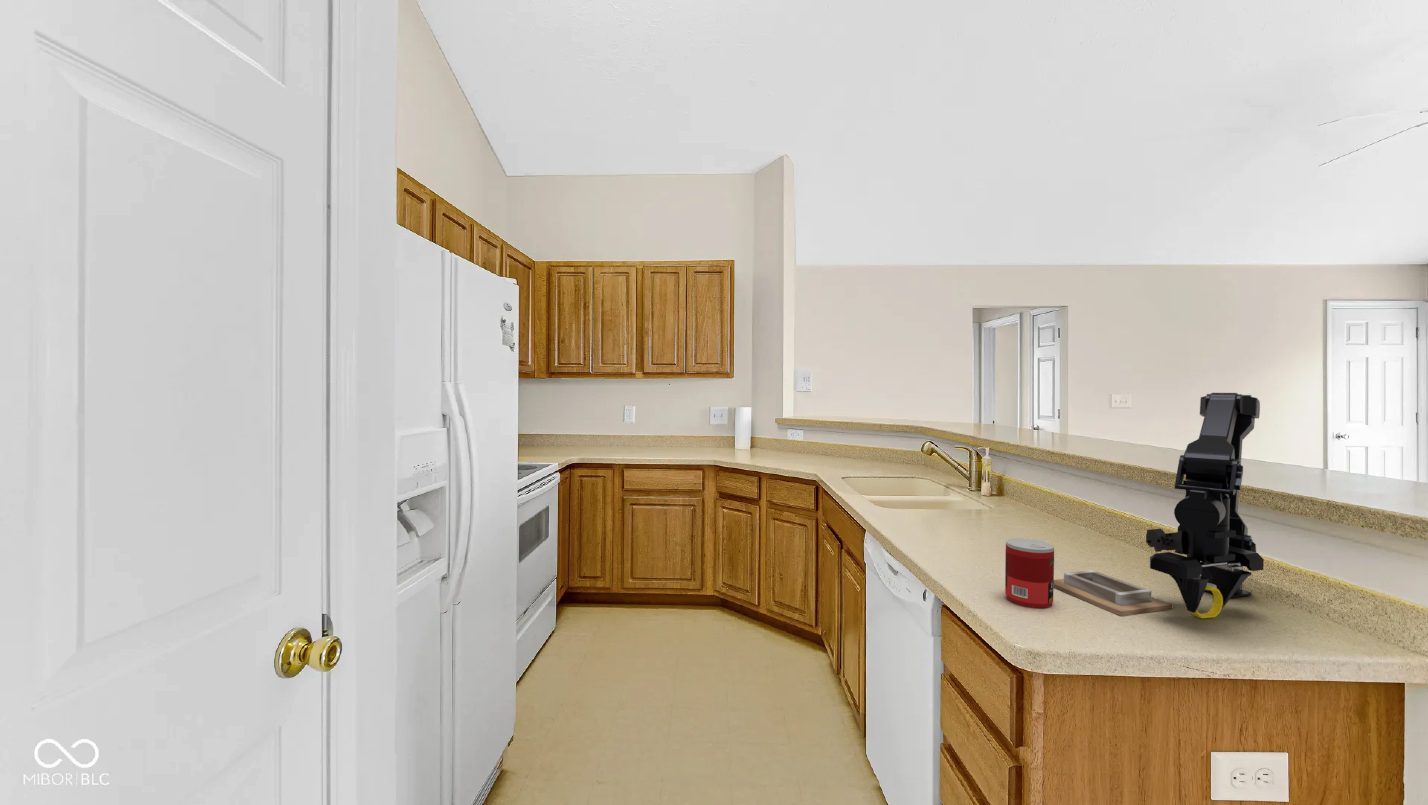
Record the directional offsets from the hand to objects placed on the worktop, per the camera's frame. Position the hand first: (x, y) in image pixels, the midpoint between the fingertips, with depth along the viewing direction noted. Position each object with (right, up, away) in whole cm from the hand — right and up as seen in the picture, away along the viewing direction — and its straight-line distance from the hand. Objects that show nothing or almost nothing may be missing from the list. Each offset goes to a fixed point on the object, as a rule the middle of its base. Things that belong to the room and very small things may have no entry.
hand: (1205, 609), depth 98 cm
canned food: (-27, -1, +8) cm, 28 cm away
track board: (-11, -1, +10) cm, 14 cm away
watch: (0, -1, 0) cm, 1 cm away
